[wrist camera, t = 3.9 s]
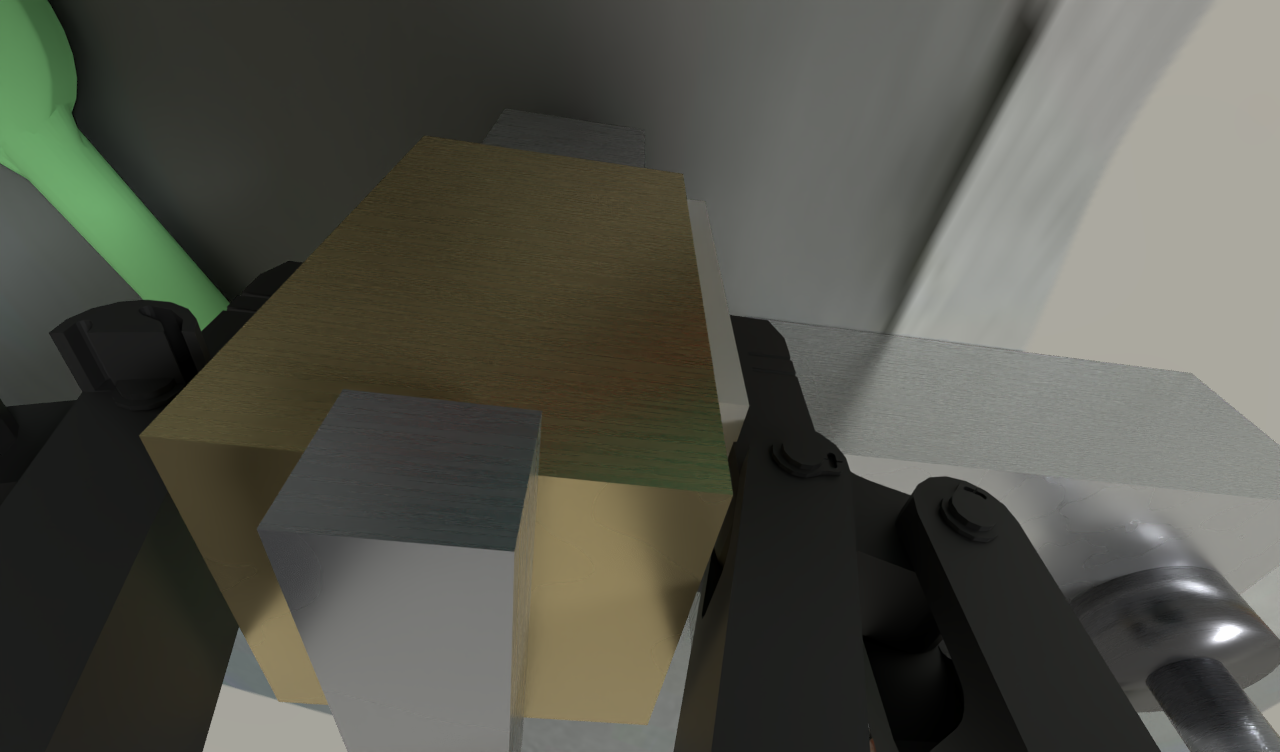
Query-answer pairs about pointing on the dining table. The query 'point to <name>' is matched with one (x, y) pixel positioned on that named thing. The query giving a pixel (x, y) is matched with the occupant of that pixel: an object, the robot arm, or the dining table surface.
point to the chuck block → (1085, 498)
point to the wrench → (83, 164)
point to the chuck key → (468, 446)
